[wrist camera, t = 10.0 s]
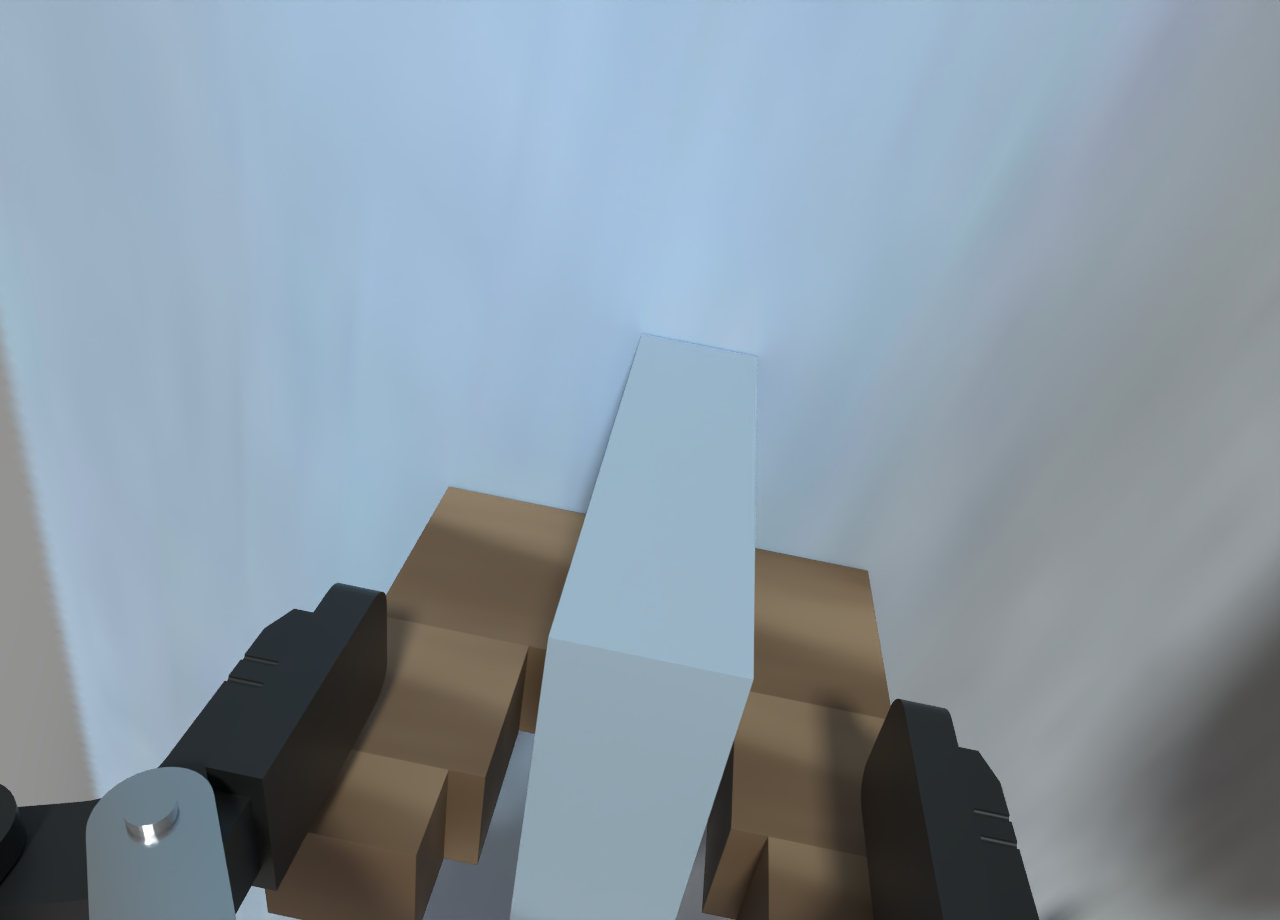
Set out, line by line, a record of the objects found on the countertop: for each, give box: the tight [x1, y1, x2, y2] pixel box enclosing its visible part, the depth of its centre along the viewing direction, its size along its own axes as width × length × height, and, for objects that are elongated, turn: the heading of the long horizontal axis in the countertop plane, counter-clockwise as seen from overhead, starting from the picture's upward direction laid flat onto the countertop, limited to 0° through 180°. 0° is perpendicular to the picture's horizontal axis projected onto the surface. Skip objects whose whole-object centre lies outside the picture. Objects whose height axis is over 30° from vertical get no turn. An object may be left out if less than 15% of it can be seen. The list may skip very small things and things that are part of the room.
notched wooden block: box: [265, 487, 891, 920], centre depth 17 cm, size 2×10×9 cm, turn 81°
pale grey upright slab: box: [509, 334, 757, 920], centre depth 17 cm, size 2×12×9 cm, turn 171°
